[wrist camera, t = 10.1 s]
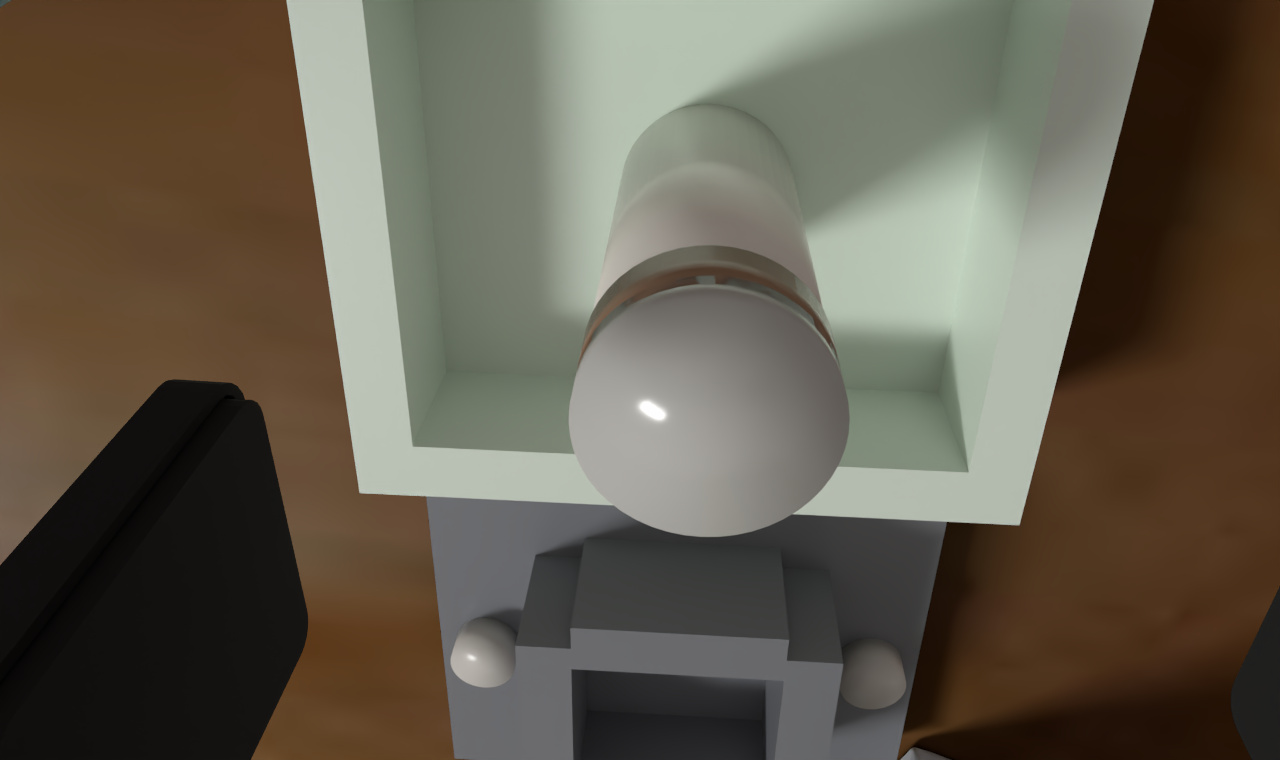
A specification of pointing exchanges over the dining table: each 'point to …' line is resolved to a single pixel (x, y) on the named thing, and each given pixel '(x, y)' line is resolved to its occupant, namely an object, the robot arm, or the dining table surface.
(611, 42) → the parts tray
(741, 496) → the cylinder
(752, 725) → the block
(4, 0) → the flower pot
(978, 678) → the dining table surface
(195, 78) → the dining table surface
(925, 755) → the tea box
